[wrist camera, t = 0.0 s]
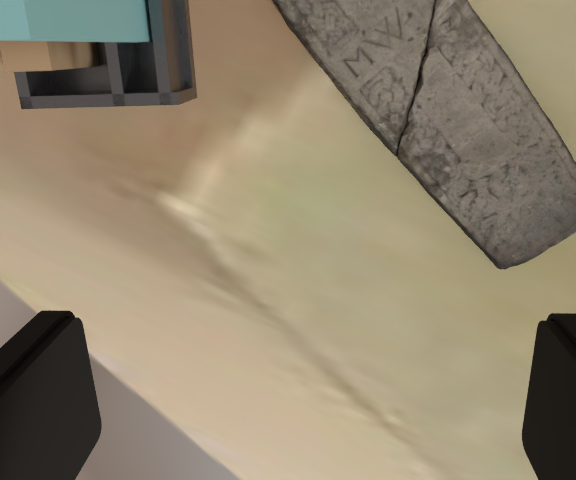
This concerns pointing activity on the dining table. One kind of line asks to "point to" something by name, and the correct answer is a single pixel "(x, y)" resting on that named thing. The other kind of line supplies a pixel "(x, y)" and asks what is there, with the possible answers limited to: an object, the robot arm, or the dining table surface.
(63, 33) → the teal board
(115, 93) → the metal rack
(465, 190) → the stone slab
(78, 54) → the offcut block
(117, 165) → the dining table surface
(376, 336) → the dining table surface
